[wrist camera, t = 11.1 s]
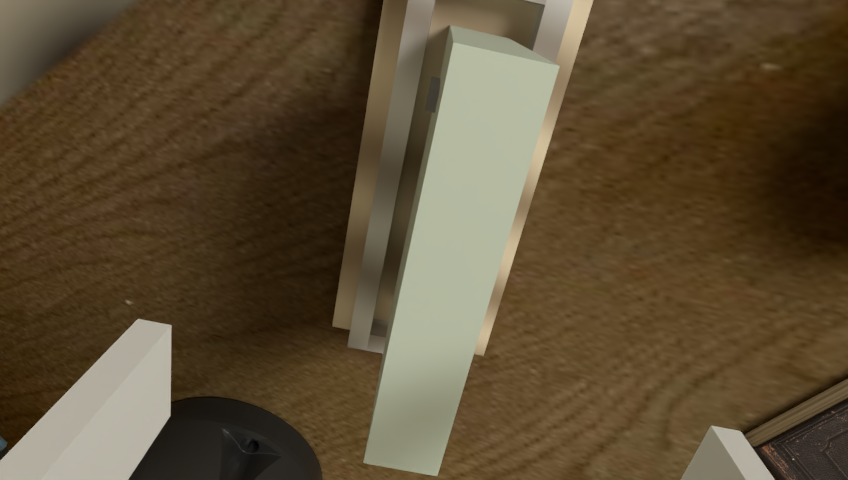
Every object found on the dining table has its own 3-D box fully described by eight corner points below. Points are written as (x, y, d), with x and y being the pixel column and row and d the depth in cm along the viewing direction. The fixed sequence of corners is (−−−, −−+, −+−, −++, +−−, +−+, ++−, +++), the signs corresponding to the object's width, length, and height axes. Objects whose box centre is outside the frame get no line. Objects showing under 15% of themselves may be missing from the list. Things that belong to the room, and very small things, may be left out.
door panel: (440, 306, 33) (437, 476, 21) (386, 295, 33) (353, 461, 21) (508, 38, 26) (560, 65, 14) (442, 23, 26) (439, 38, 14)
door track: (482, 342, 36) (485, 373, 33) (336, 313, 35) (326, 342, 32) (588, -10, 27) (607, -12, 24) (395, -55, 26) (388, -62, 23)
